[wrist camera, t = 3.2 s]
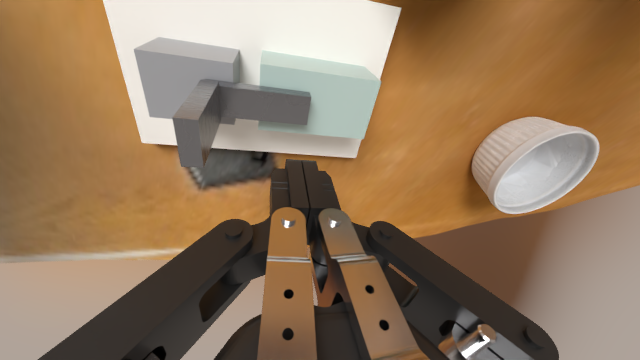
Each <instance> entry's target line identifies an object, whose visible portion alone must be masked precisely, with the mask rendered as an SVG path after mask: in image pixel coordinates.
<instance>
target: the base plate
mask: <svg viewBox="0 0 640 360" xmlns="http://www.w3.org/2000/svg"><path fill="white" fill-rule="evenodd" d="M103 2H104V6H105V10H106V13H107V17H108V21H109V24H110V28H111V32H112V35H113V39H114V43H115V46H116V50H117V53H118V57H119V61H120V64H121V68H122V72H123V75H124V79H125V83H126V86H127V90H128V94H129V97H130V101H131V105H132V108H133V112H134V115H135V119H136V123H137V126H138V130H139V134H140V137H141V141H142V143H151V144H165V145H177V141H176V135H175V130H174V124H173V119H172V117H173V116H174V115H175V113H176V112H177V111H178V109H179V108H180V107H181V105H182V104H183V102H184V101H185V100H186V98H187V97H188V96H189V94H190V93H191V92H192V90H193V89H194V88H195V86H196V85H197V84H198V82H199V81H200V80H201V79H202V80H204V79H211V80H219V81H227V82H235V83H242V84H250V85H258V86H260V62H261V55H262V50H265V51H271V52H277V53H283V54H290V55H296V56H302V57H309V58H315V59H321V60H327V61H334V62H340V63H346V64H352V65H359V66H365V67H366V68H367V69H368V70H369V71H370V72H371V73H372V74H374V75H375V76H376V77H377V78H378V79H379V80H380V77H381V74H382V71H383V67H384V64H385V61H386V57H387V54H388V51H389V48H390V44H391V41H392V38H393V34H394V31H395V28H396V25H397V21H398V18H399V15H400V11H401V8H399V7H395V6H390V5H386V4H381V3H377V2H372V1H368V0H103ZM360 143H361V139H356V138H345V137H334V136H323V135H312V134H301V133H290V132H279V131H268V130H258V121H257V120H247V119H237V118H226V117H221V122H220V125H219V128H218V130H217V133H216V136H215V139H214V141H213V144H212V147H211V148H221V149H235V150H249V151H263V152H277V153H291V154H305V155H319V156H333V157H347V158H356V156H357V153H358V149H359V146H360Z"/></svg>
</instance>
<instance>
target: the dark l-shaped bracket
mask: <svg viewBox="0 0 640 360" xmlns="http://www.w3.org/2000/svg"><path fill="white" fill-rule="evenodd" d="M310 102H311V95H310V92H305V91H297V90H289V89H281V88H274V87H266V86H258V85H250V84H242V83H235V82H227V81H219V80H211V79H204V80H202V79H201V80H200V81H199V82H198V84H197V85H196V86H195V88H194V89H193V90H192V92H191V93H190V94H189V96H188V97H187V98H186V100H185V101H184V102H183V104H182V105H181V107H180V108H179V109H178V111H177V112H176V113H175V115H174V116H173V117H172V119H173V124H174V130H175V135H176V141H177V146H178V152H179V157H180V163H181V167H199V168H204V165H205V163H206V160H207V157H208V155H209V152H210V149H211V147H212V144H213V141H214V139H215V136H216V133H217V130H218V128H219V125H220V122H221V117H226V118H237V119H247V120H257V121H267V122H277V123H288V124H298V125H307V122H308V115H309V109H310Z"/></svg>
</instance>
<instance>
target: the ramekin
mask: <svg viewBox="0 0 640 360" xmlns="http://www.w3.org/2000/svg"><path fill="white" fill-rule="evenodd" d="M598 154H599V142H598V140H597V138H596V137H595V136H594V135H593V134H592V133H590V132H588V131H586V130H584V129H582V128H579V127H575V126H567V125H564V124H561V123H558V122H555V121H552V120H549V119H545V118H541V117H526V118H520V119H516V120H513V121H510V122H508V123H506V124H504V125H502V126H500V127H498V128H497V129H495V130H494V131H493V132H491V133H490V134H489V135H488V136H487V137H486V138H485V139H484V140H483V141H482V143H481V144H480V145H479V147H478V148H477V150H476V152H475V154H474V157H473V161H472V174H473V176H474V178H475V180H476V181H477V183H478V184H479V185H480V187H481V188H482V190H483V191H484V192H485V193H486V195H487V196H488V198H489V200H490V202H491V203H492V204H493V205H494V206H495V207H496V208H497V209H498V210H500V211H502V212H504V213H508V214H520V213H526V212H530V211H534V210H536V209H539V208H542V207H544V206H546V205H548V204H550V203H552V202H554V201H556V200H557V199H559V198H561V197H562V196H564V195H565V194H566V193H568V192H569V191H571V190H572V189H573V188H574V187H575V186H576V185H578V184H579V183H580V182H581V181H582V180H583V179H584V178H585V176H586V175H587V174H588V173H589V171H590V170H591V169H592V167H593V165H594V164H595V162H596V160H597V157H598Z"/></svg>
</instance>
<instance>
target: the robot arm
mask: <svg viewBox="0 0 640 360" xmlns="http://www.w3.org/2000/svg"><path fill="white" fill-rule="evenodd" d="M307 245H310V254H309V259H308V257H307ZM389 263H391V264H392V265H394V266H395V267H396V268H397V269H399V270H400V271H401V272H403V273H404V274H405V275H407V276H408V277H409V278H410V279H412V280H413V281H414V282H415V283H416V284H417V286H414V285H412V284H411V283H410V282H408V281H407V280H406V279H404V278H403V277H402V276H401V275H399V274H398V273H397V272H396V271H394V270H393V269H392V268H390V267H389V266H388V265H389ZM263 275H265V285H264V295H263V306H262V314H261V315H258V316H256V317H255V318H253V319H251V320H249V321H248V322H246V323H245V324H244V325H243V326H242V327H240V328H239V329H238V330H237V331H236V332H235V333H234V334H233V335H232V336H231V338H230V339H229V340H228V341H227V343H226V344H225V345H224V347H223V348H222V349H221V351H220V352H219V353H218V354H217V356H216V357H215V358H214V360H559V354H558V350H557V348H556V346H555V344H554V342H553V341H552V339H551V338H550V337H549V335H548V334H547V333H546V332H545V331H544V330H543V329H542V328H540V326H538V325H537V324H536V323H534V322H533V321H531V320H530V319H528V318H527V317H525V316H524V315H522V314H521V313H519V312H518V311H517V310H515V309H514V308H512V307H511V306H509V305H508V304H506V303H505V302H504V301H502V300H501V299H499V298H498V297H496V296H495V295H493V294H492V293H490V292H489V291H487V290H486V289H485V288H483V287H482V286H480V285H479V284H477V283H476V282H474V281H473V280H472V279H470V278H469V277H467V276H466V275H464V274H463V273H462V272H460V271H459V270H457V269H456V268H454V267H453V266H451V265H450V264H448V263H447V262H446V261H444V260H443V259H441V258H440V257H438V256H437V255H435V254H434V253H432V252H431V251H430V250H428V249H426V248H425V247H423V246H422V245H421V244H419V243H418V242H416V241H415V240H414V239H412V238H411V237H409V236H408V235H406V234H405V233H404V232H402V231H401V230H399V229H398V228H396V227H395V226H393V225H392V224H390V223H387V222H384V221H377V222H374V223H372V224H371V226H370V228H369V227H365V226H362V225H358V224H355V223H353V222H351V220H350V218H349V217H348V215H347V214H346V213H344V212H343V211H341V208H340V205H339V202H338V199H337V196H336V192H335V189H334V186H333V183H332V180H331V177H330V176H329V175H328V174H327V173H326V172H325V171H318V167H317V164H316V161H307V160H291V159H286V164H285V169H278V168H276V169H275V170H274V172H273V173H272V175H271V188H270V216H269V218H268V219H267V220H265V221H264V222H261V223H259V224H255V225H250V224H249V223H248V222H246V221H244V220H240V219H231V220H227V221H224V222H222V223H220V224H219V225H217V226H216V227H215V228H213V229H212V230H211V231H209V232H208V233H207V234H205V235H204V236H203V237H201V238H200V239H199V240H197V241H196V242H195V243H193V244H192V245H191V246H189V247H188V248H187V249H185V250H184V251H183V252H181V253H180V254H179V255H177V256H176V257H175V258H173V259H172V260H171V261H169V262H168V263H167V264H165V265H164V266H163V267H161V268H160V269H159V270H157V271H156V272H155V273H153V274H152V275H150V276H149V277H148V278H147V279H145V280H144V281H142V282H141V283H140V284H138V285H137V286H136V287H134V288H133V289H132V290H130V291H129V292H128V293H126V294H125V295H124V296H122V297H121V298H120V299H118V300H117V301H116V302H114V303H113V304H112V305H110V306H109V307H108V308H106V309H105V310H104V311H102V312H101V313H100V314H98V315H97V316H96V317H94V318H93V319H91V320H90V321H89V322H88V323H86V324H85V325H83V326H82V327H81V328H79V329H78V330H77V331H75V332H74V333H73V334H71V335H70V336H69V337H67V338H66V339H65V340H63V341H62V342H61V343H59V344H58V345H57V346H55V347H54V348H53V349H51V350H50V351H49V352H47V353H46V354H45V355H43V356H42V357H41V358H39V359H38V360H180V359H181V358H182V357H183V356H184V354H186V352H187V351H188V350H189V349H190V348H191V347H192V346H193V345H194V344H195V343H196V341H197V340H198V339H199V338H200V337H201V336H202V335H203V334H204V333H205V332H206V330H207V329H208V328H209V327H210V326H211V325H212V324H213V323H214V322H215V321H216V319H217V318H218V317H219V316H220V315H221V314H222V313H223V311H224V310H226V308H227V307H228V306H229V305H230V304H231V303H232V302H233V301H234V300H235V298H236V297H237V296H238V295H239V294H240V293H241V292H242V291H243V290H244V289H245V288H246V286H247V285H248V284H249V283H250V281H251V280H252V279H255V278H257V277H260V276H263ZM312 277H313V281H314V285H315V290H316V294H317V300H318V306H315V305H314V303H313V286H312Z"/></svg>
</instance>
